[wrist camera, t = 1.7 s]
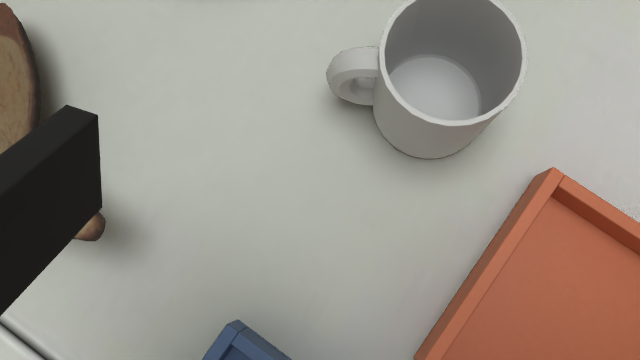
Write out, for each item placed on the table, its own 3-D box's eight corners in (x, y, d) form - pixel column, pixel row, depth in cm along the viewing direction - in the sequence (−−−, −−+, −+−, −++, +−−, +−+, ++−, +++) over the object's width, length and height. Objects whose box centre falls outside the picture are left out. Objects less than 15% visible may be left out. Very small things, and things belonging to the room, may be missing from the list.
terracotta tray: (732, 304, 34) (770, 307, 31) (611, 501, 33) (638, 525, 30) (535, 175, 36) (553, 166, 33) (413, 357, 34) (419, 366, 31)
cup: (482, 165, 36) (525, 131, 27) (324, 153, 37) (316, 116, 28) (487, 55, 37) (530, -11, 28) (333, 45, 38) (329, -22, 29)
